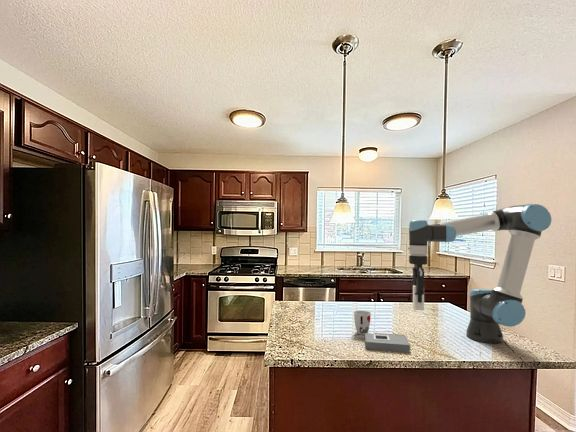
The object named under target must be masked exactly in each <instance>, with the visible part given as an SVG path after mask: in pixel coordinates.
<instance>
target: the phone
mask: <svg viewBox="0 0 576 432" xmlns="http://www.w3.org/2000/svg"><path fill="white" fill-rule="evenodd" d="M374 334H385V335H399V336H406V335H405V334H396V333H382V332H381V333H380V332H374Z"/></svg>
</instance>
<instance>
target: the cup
mask: <svg viewBox="0 0 576 432" xmlns="http://www.w3.org/2000/svg"><path fill="white" fill-rule="evenodd" d="M353 317H354V318H353V319H354V325H355V330H356V333H357V334H358V335H362V336H363V335H364V336H365V333H369V330H370V325H371V317H372V316H371V312H370V311H367V310H355V311H354V312H353Z"/></svg>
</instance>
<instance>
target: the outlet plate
mask: <svg viewBox="0 0 576 432" xmlns="http://www.w3.org/2000/svg"><path fill="white" fill-rule="evenodd" d="M385 334H386V333H384V334H375V333H369V332H368V333H365V335H364V342H365V343H364V344H365V349H366V350H375V351H387V352H388V351H389V352H400V353H401V352H402V353H411V345H410V343H409V340H408V338H407V336H406V335H405V336H399V335H400V334H399V335H385Z"/></svg>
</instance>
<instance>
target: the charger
mask: <svg viewBox="0 0 576 432" xmlns="http://www.w3.org/2000/svg"><path fill="white" fill-rule="evenodd" d="M415 293H416V285H413V284H412V309H413V311H417V310H416V295H415ZM422 311H425V293H424V294H423V310H422Z"/></svg>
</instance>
